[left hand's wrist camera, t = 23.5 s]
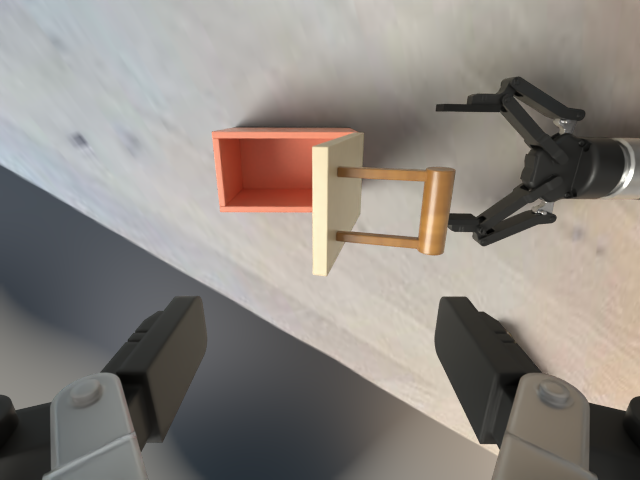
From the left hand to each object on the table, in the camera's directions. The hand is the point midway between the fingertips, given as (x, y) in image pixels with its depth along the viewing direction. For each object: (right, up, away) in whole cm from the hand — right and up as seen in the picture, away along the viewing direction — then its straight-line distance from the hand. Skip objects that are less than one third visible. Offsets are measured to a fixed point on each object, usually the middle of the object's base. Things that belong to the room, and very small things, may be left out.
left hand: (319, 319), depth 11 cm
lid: (+2, +7, +19) cm, 20 cm away
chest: (-4, +14, +37) cm, 40 cm away
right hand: (+14, +12, +31) cm, 36 cm away
